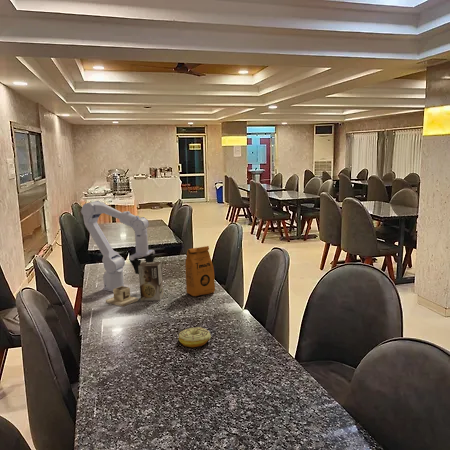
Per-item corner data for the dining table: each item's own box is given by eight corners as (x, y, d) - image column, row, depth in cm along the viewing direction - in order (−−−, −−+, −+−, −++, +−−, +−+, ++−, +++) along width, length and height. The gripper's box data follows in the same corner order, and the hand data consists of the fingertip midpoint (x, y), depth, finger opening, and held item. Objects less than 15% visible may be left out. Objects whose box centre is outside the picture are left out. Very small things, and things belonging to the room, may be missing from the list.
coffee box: (163, 296, 186) (161, 261, 184) (160, 300, 180) (158, 265, 177) (144, 295, 187) (142, 261, 185) (140, 300, 181) (137, 265, 178)
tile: (105, 302, 180) (105, 300, 180) (121, 296, 187) (121, 294, 187) (123, 306, 174) (123, 304, 174) (138, 300, 181) (138, 298, 181)
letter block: (114, 299, 180) (113, 288, 179) (122, 296, 184) (121, 285, 183) (122, 301, 177) (121, 290, 176) (130, 298, 181) (129, 287, 180)
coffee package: (217, 294, 187) (216, 247, 183) (192, 299, 181) (190, 250, 177) (208, 288, 195) (206, 243, 192) (184, 292, 190) (182, 246, 186)
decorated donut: (216, 341, 140) (216, 330, 139) (193, 352, 132) (192, 341, 131) (196, 332, 147) (195, 322, 146) (172, 342, 139) (172, 332, 139)
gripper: (136, 247, 182) (138, 276, 185) (158, 241, 194) (160, 269, 197) (125, 246, 186) (127, 274, 188) (147, 240, 198) (149, 267, 200)
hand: (143, 271), depth 193 cm, fingers open, 7 cm apart
